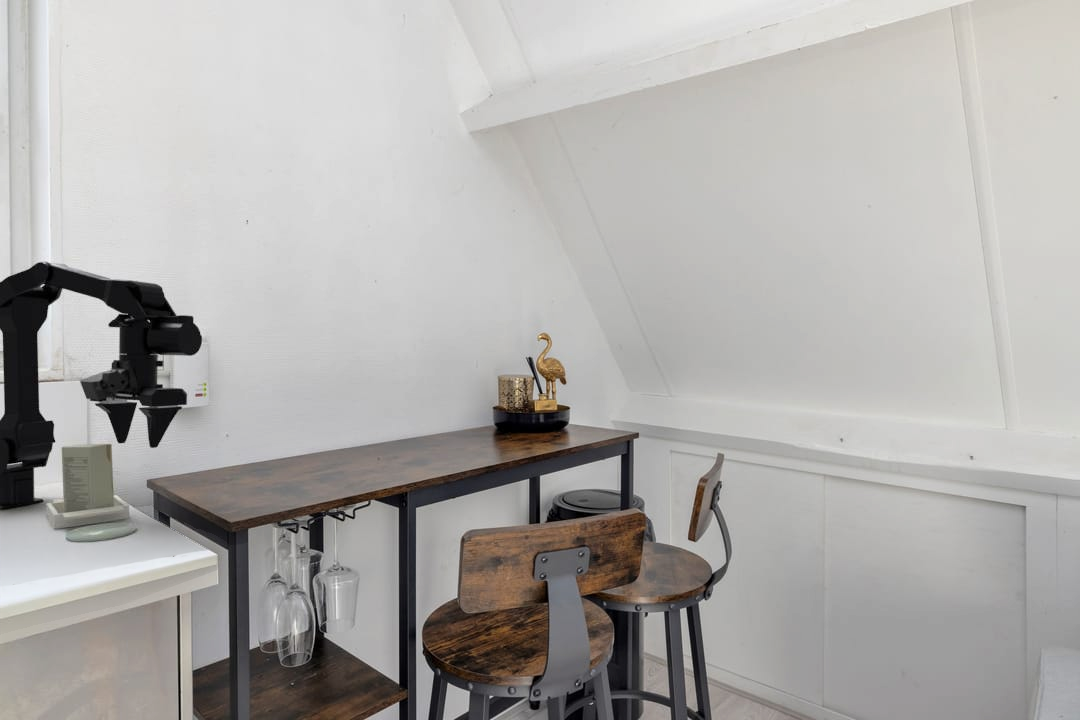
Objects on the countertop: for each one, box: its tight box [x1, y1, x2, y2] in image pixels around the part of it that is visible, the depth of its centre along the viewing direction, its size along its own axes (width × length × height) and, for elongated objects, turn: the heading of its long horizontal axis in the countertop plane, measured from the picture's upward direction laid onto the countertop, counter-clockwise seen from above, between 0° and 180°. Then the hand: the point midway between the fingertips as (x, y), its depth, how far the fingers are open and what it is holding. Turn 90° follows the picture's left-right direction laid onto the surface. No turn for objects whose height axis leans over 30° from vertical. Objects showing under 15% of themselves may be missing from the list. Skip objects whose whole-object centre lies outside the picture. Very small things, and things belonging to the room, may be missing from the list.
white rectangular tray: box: [45, 494, 130, 530], centre depth 115 cm, size 18×10×2 cm, turn 41°
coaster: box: [65, 522, 137, 543], centre depth 104 cm, size 9×9×1 cm
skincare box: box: [61, 443, 115, 513], centre depth 115 cm, size 6×4×12 cm
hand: (137, 445), depth 117 cm, fingers open, 9 cm apart
